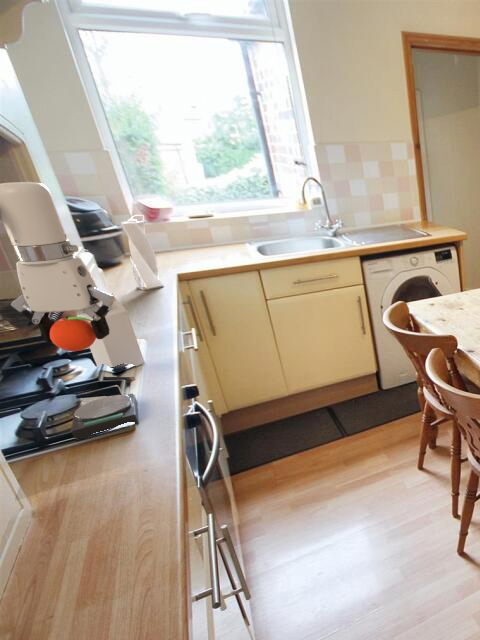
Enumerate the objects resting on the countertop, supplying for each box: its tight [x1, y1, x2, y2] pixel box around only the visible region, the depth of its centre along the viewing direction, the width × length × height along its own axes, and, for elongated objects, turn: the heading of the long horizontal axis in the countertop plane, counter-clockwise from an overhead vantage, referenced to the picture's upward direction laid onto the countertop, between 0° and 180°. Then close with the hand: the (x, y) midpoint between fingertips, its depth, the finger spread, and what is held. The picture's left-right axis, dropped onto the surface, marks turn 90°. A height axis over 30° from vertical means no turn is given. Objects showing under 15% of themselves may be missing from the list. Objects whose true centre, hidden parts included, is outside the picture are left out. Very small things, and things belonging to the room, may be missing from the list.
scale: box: [70, 392, 140, 439], centre depth 97 cm, size 11×10×3 cm
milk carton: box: [76, 292, 146, 368], centre depth 117 cm, size 7×7×19 cm
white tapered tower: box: [120, 213, 165, 292], centre depth 180 cm, size 8×8×28 cm
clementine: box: [49, 316, 96, 352], centre depth 93 cm, size 8×7×7 cm
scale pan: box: [73, 394, 132, 421], centre depth 97 cm, size 9×9×1 cm
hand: (78, 338), depth 94 cm, fingers closed on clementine, 8 cm apart
